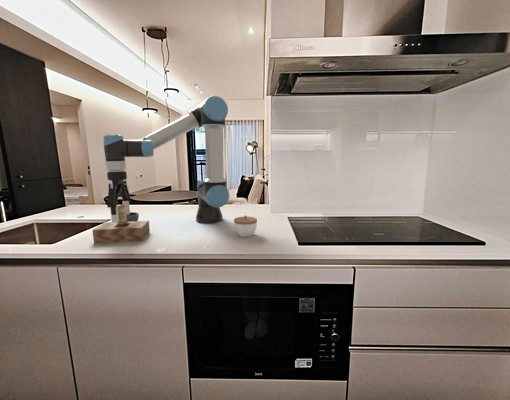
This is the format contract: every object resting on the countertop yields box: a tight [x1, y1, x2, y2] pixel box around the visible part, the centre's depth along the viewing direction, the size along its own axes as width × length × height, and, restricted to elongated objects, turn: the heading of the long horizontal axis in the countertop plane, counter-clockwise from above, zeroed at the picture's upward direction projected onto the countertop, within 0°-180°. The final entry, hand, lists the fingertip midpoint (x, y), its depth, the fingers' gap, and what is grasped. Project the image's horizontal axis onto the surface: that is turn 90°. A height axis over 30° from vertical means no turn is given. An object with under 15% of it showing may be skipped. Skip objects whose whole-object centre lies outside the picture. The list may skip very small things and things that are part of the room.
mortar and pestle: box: [119, 203, 140, 222], centre depth 133 cm, size 11×9×12 cm
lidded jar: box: [233, 215, 258, 238], centre depth 118 cm, size 11×11×9 cm
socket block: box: [91, 220, 151, 244], centre depth 116 cm, size 20×12×6 cm, turn 98°
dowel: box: [116, 204, 127, 227], centre depth 116 cm, size 4×4×14 cm
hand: (121, 218), depth 115 cm, fingers open, 13 cm apart
